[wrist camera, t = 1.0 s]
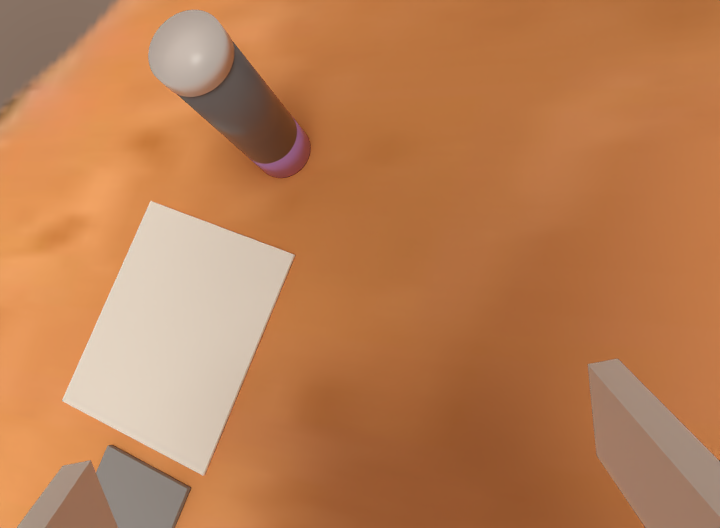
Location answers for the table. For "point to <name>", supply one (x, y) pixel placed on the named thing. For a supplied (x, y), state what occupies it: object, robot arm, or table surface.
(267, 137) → the marker
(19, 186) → the table surface
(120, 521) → the rest pad
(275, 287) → the paper
